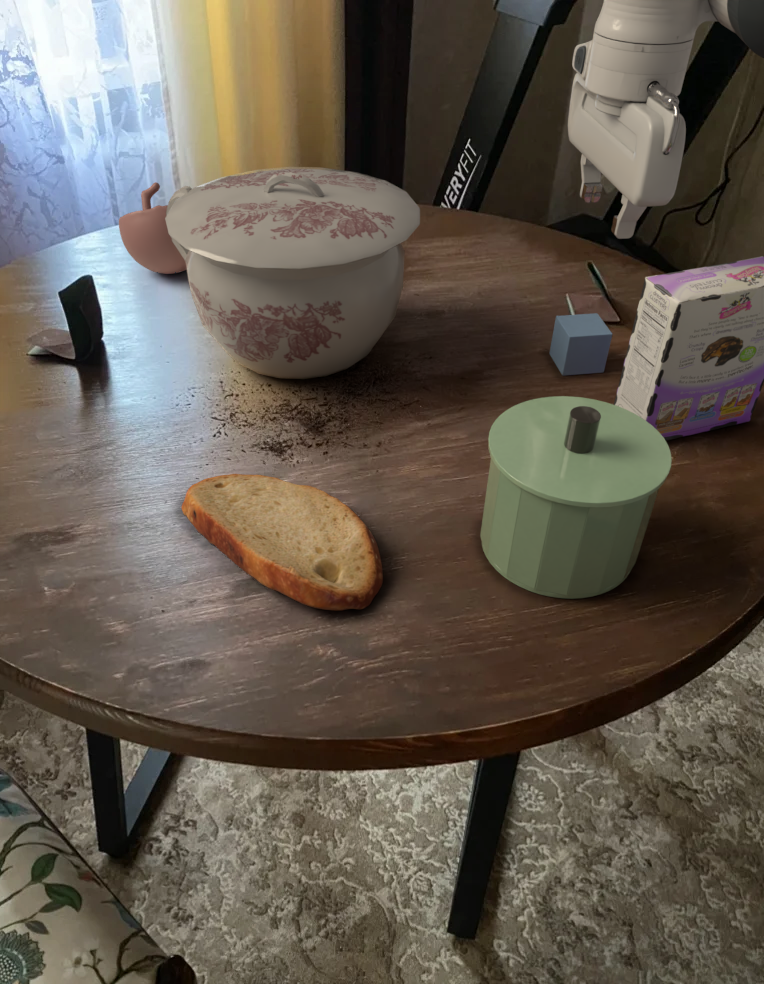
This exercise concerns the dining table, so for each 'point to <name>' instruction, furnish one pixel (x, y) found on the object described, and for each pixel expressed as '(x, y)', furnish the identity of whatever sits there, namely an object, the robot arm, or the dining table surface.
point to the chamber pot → (294, 264)
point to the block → (580, 344)
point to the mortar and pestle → (150, 237)
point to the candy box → (697, 349)
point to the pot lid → (579, 451)
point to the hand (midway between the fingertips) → (604, 217)
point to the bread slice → (289, 538)
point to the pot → (560, 540)
